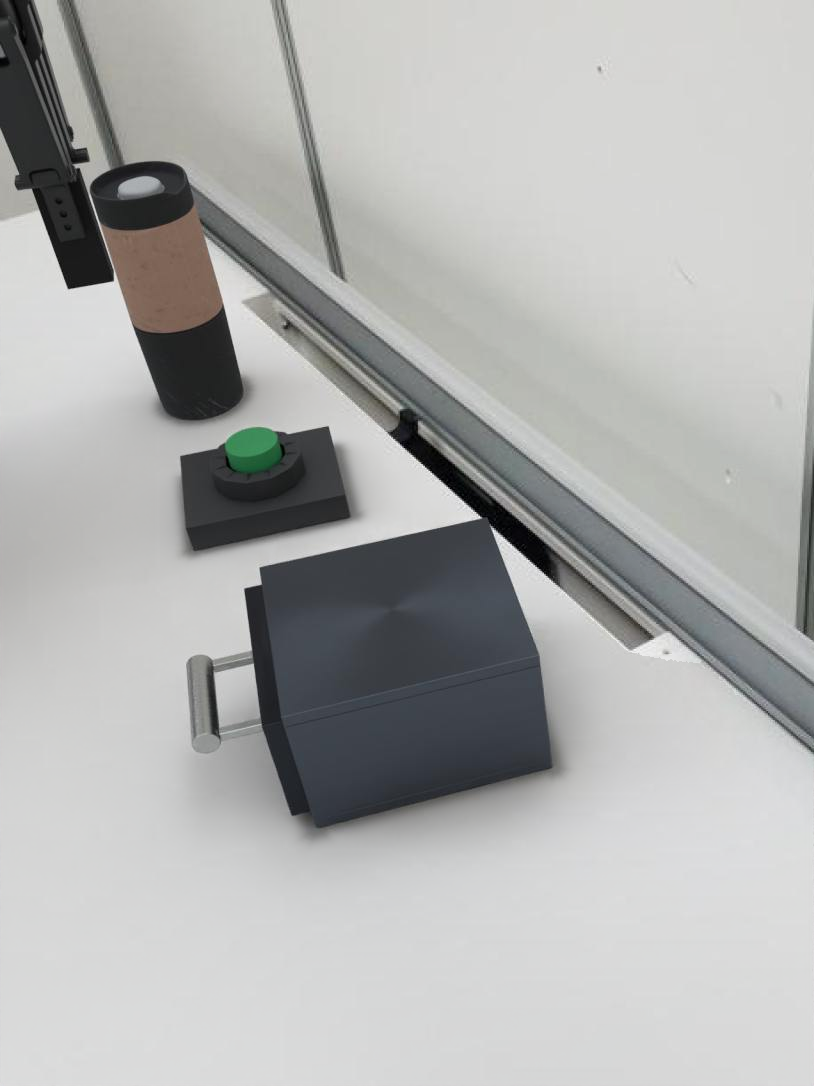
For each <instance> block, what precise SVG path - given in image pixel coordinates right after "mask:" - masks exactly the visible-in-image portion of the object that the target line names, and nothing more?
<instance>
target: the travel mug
mask: <svg viewBox="0 0 814 1086" xmlns="http://www.w3.org/2000/svg"><path fill="white" fill-rule="evenodd" d="M89 195H90V199H91V202H92V205H93V206H94V207H93V208H94V211H95V214H96V217H97V221H98V224H99V227H100V230H101V233H102V236H103V239H104V242H105V246H106V249H107V252H108V255H109V258H110V261H111V264H112V267H113V270H114V274H115V276H116V279H117V282H118V285H119V288H120V291H121V294H122V297H123V300H124V304H125V307H126V310H127V313H128V316H129V320H130V322H131V325H132V328H133V331H134V334H135V336H136V339H137V341H138V344H139V347H140V349H141V352H142V355H143V358H144V361H145V363H146V366H147V369H148V372H149V374H150V378H151V379H152V382H153V385H154V388H155V390H156V393H157V395H158V398H159V400H160V403H161V406H162V408H163V410H164V411H165V412H166V413H167V414H168V415H169V416H171V417H173V418H176V419H181V420H186V421H187V420H188V421H193V420H194V421H195V420H196V421H197V420H204V419H208V418H212V417H216V416H219V415H221V414H224V413H225V412H228V411H229V410H231V409H233V408H234V407H235V406H236V405H237V404H238V403H239V402H240V401H241V400H242V399H243V395H244V385H243V380H242V376H241V371H240V367H239V363H238V358H237V354H236V350H235V346H234V342H233V337H232V333H231V329H230V325H229V320H228V316H227V312H226V309H225V304H224V301H223V296H222V293H221V289H220V286H219V282H218V279H217V275H216V271H215V268H214V265H213V262H212V257H211V255H210V251H209V248H208V244H207V239H206V237H205V234H204V230H203V226H202V223H201V220H200V219H201V218H200V216H199V213H198V209H197V206H196V202H195V198H194V195H193V192H192V189H191V183H190V182H189V178H188V175H187V172H186V170H185V169H184V167H182V166H181V165H180V164H177V163H174V162H171V161H164V160H148V161H147V160H146V161H138V162H133V163H128V164H123V165H120V166H116V167H114V168H111V169H109V170H107V171H105V172H103V173H101V174H99V175H98V176H97V177H95V178H94V179H93V180H92V181H91V183H90V185H89Z"/></svg>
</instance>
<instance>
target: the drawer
mask: <svg viewBox="0 0 814 1086" xmlns="http://www.w3.org/2000/svg"><path fill="white" fill-rule="evenodd" d="M243 591H244V592H243V593H244V600H245V608H246V616H247V624H248V631H249V638H250V646H251V647H250V648H251V650H249V651H243V652H239V653H237V654H231V655H227V656H223V657H220V658H215V659H212V658H211V657H210V656H208V655H206V654H195V655H193V656H191V657H189V659H187V661H186V663H185V667H186V682H187V697H188V698H187V699H188V710H189V723H190V739H191V748H192V749H193V750H194V751H195V752H196V753H199V754H203V755H206V754H211V753H214V752H216V751H217V750H218V749H219V748H220V746H221V743H222V742H224V741H229V740H233V739H236V738H237V739H238V738H240V737H245V736H249V735H254V734H257V733H262V732H263V735H264V738H265V741H266V744H267V746H268V750H269V753H270V757H271V759H272V762H273V765H274V768H275V771H276V774H277V777H278V780H279V783H280V785H281V788H282V789H281V790H282V791H283V794H284V797H285V800H286V803H287V806H288V810H289V813H290V816H292V817H294V816H299V815H302V814H307V813H311V810H310V807H309V804H308V801H307V798H306V795H305V791H304V788H303V785H302V782H301V779H300V776H299V772H298V769H297V766H296V763H295V760H294V757H293V754H292V750H291V747H290V744H289V741H288V738H287V735H286V731H285V728H284V725H283V722H282V719H281V713H280V706H279V700H278V693H277V686H276V679H275V672H274V665H273V659H272V652H271V645H270V638H269V631H268V624H267V618H266V611H265V604H264V597H263V590H262V584H257V585H253V586H249V587H248V586H247V587H244V589H243ZM250 665H253V668H254V676H255V677H254V678H255V684H256V693H257V700H258V709H259V716H260V717H259V718H255V719H250V720H245V721H243V722H238V723H233V724H229V725H226V726H221V727H220V719H219V710H218V709H219V708H218V699H217V688H216V678H215V677H216V676H215V673H216V674H217V673H219V672H224V671H225V672H226V671H228V670H229V671H230V670H233V669H238V668H241V667H246V666H250Z"/></svg>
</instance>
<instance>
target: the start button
mask: <svg viewBox="0 0 814 1086" xmlns="http://www.w3.org/2000/svg"><path fill="white" fill-rule="evenodd" d="M274 431H275V430H274V429H271V428H269V427H265V426H264V427H263V426H262V427H261V426H253V427H248V428H244V429H241V430H238V431H237V432H235V433H232V435H230V436H229V437H228V438H227V439H226V441H225V442H226V444H225V449H226V452H227V456H228V459H229V462H230V466H231V468H232V469H233V470H234V471H235V472H240V473H255V472H260V471H264V470H268V469H269V468H271V467H273V466H275V465H277V464H278V463H279V462H280V461H281V459H282V452H281V448H280V444H279V440H278V437H277V434H276V433H275V432H274Z"/></svg>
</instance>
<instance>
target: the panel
mask: <svg viewBox="0 0 814 1086" xmlns="http://www.w3.org/2000/svg"><path fill="white" fill-rule="evenodd" d="M273 431H274V432H275V433H276V434H277V437H278V440H279V444H280V448H281V452H282V459H281V461H280V462H279V463H278V464H277V465H275V466H273V467H271V468H269V469H268V470H264V471H260V472H255V473H240V472H235V471H234V470H233V469H232V468H231V466H230V462H229V459H228V456H227V452H226V449H225V444H226V441H225V442H223V443H222V444H220V445H219V446H217V448H212V449H207V450H202V451H197V452H193V453H188V454H187V453H186V454H182V455H180V456H179V461H180V470H181V471H180V474H181V485H182V486H181V487H182V497H183V510H184V511H183V512H184V523H185V530H186V533H187V536H188V539H189V542H190V545H191V548H192V550H193V551H199V550H203V549H204V550H205V549H208V548H213V547H218V546H222V545H226V544H232V543H236V542H241V541H245V540H250V539H255V538H259V537H265V536H269V535H272V534H273V535H274V534H278V533H282V532H286V531H292V530H295V529H301V528H306V527H311V526H315V525H319V524H325V523H329V522H333V521H338V520H342V519H347V518H351V512H350V508H349V503H348V499H347V495H346V491H345V487H344V482H343V479H342V474H341V470H340V467H339V462H338V458H337V454H336V451H335V446H334V441H333V437H332V433H331V429H330V425H326V426H321V427H317V428H312V429H311V428H310V429H307V430H306V429H305V430H301V431H296V432H292V433H287V432H285V431H278V430H273Z"/></svg>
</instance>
